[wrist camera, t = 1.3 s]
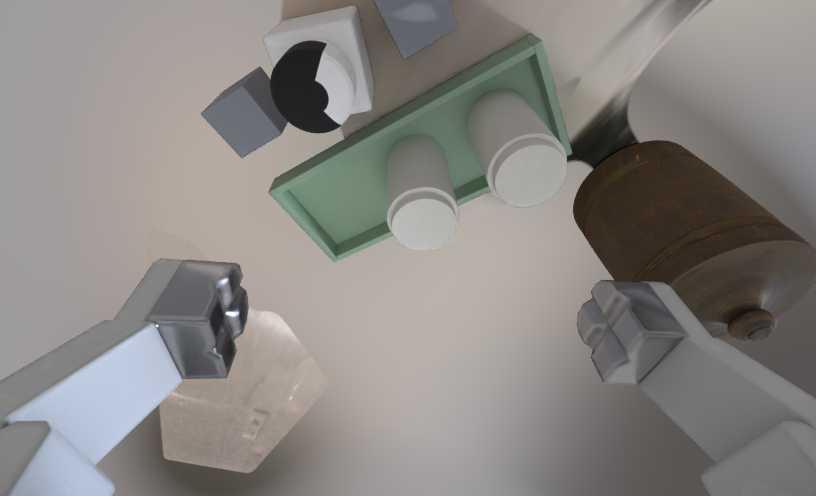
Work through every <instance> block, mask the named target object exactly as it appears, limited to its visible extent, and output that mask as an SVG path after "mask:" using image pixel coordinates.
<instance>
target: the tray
mask: <svg viewBox="0 0 816 496" xmlns="http://www.w3.org/2000/svg"><path fill="white" fill-rule="evenodd" d="M497 89H510V90H513V91H516V92H517V93H519V94H520V95H522V96H523V98H524V99H525V100H526V101H527V102H528V104H529V105H530V106H531V107H532V109H533V110H534V111H535V112H536V113H537V115H538V116H539V117H540V118H541V120H542V121H543V122H544V123H545V124H546V126H547V127H548V128H549V129H550V131H551V132H552V133H553V134H554V136H555V137H556V138H557V139H558V140H559V142H560V143H561V144H562V146H563V147H564V149H565V152H566V156H568V155H571V154H572V150H571V146H570V143H569V139H568V135H567V132H566V128H565V124H564V121H563V117H562V113H561V109H560V106H559V102H558V98H557V95H556V91H555V87H554V84H553V80H552V76H551V72H550V69H549V65H548V61H547V58H546V54H545V50H544V47H543V43H542V40H540V39H539V38H537V37H536V36H535V35H533V34H532V33H531V34H529V35H528V36H526V37H524V38H522V39H521V40H519V41H517V42H515V43H514V44H512V45H510V46H508V47H506V48H505V49H503V50H501V51H499V52H498V53H496V54H494V55H492V56H491V57H489V58H487V59H485V60H483V61H482V62H480V63H478V64H476V65H475V66H473V67H471V68H469V69H468V70H466V71H464V72H462V73H460V74H459V75H457V76H455V77H453V78H452V79H450V80H448V81H446V82H445V83H443V84H441V85H439V86H437V87H436V88H434V89H432V90H430V91H429V92H427V93H425V94H423V95H422V96H420V97H418V98H416V99H415V100H413V101H411V102H409V103H407V104H406V105H404V106H402V107H400V108H399V109H397V110H395V111H393V112H392V113H390V114H388V115H386V116H384V117H383V118H381V119H379V120H377V121H376V122H374V123H372V124H370V125H369V126H367V127H365V128H363V129H361V130H360V131H358V132H356V133H354V134H353V135H351V136H349V137H347V138H346V139H344V140H342V141H340V142H338V143H337V144H335V145H333V146H332V147H330V148H328V149H326V150H324V151H323V152H321V153H319V154H317V155H315V156H314V157H312V158H310V159H309V160H307V161H305V162H303V163H301V164H300V165H298V166H296V167H294V168H293V169H291V170H289V171H287V172H285V173H284V174H282V175H280V176H279V177H277V178H275V179H274V181H273V183H272V186H271V188H270V190H269V194H270V195H271V196H272V197H273V198H274V199H275V200H276V201H277V202H278V203H279V204H280V205H281V207H282V208H283V209H284V210H285V211H286V212H287V213H288V214H289V215H290V216H291V217H292V218H293V219H294V220H295V221H296V223H297V224H298V225H299V226H300V227H301V228H302V229H303V230H304V231H305V232H306V233H307V234H308V235H309V236H310V237H311V238H312V240H314V242H315V243H316V244H317V245H318V246H319V247H320V248H321V249H322V250H323V251H324V252H325V253H326V254H327V255H328V257H329V258H330V259H331V260H332V261H333V262H337V261H338V260H341V259H343V258H345V257H347V256H350V255H352V254H354V253H356V252H358V251H361V250H363V249H365V248H367V247H369V246H372V245H374V244H376V243H378V242H380V241H382V240H384V239H387V238H389V237H391V236H393V234H392V232H391V231H390V229H389V227H388V223H387V157H388V154H389V152H390V150H391V148H392V147H393V146H394V145H395V144H396V143H397V142H398V141H399V140H401V139H403V138H405V137H408V136H412V135H422V136H427V137H429V138H431V139H433V140H435V141H436V142H437V143H438V144H439V145H440V146H441V148H442V149H443V151H444V154H445V158H446V162H447V166H448V169H449V173H450V177H451V181H452V185H453V189H454V193H455V197H456V200H457V204H458V206H459V205H461V204H463V203H466V202H468V201H470V200H472V199H474V198H476V197H479V196H481V195H483V194H485V193H487V192H490V191H491V190H490V188H489V186H488V183H487V181H486V178H485V176H484V173H483V171H482V168H481V165H480V163H479V160H478V158H477V155H476V153H475V150H474V148H473V145H472V143H471V140H470V138H469V135H468V132H467V117H468V114H469V112H470V110H471V108H472V106H473V105H474V104H475V102H476V101H477V100H478V99H479V98H480V97H482V96H483V95H485V94H486V93H488V92H490V91H493V90H497Z"/></svg>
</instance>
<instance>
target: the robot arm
mask: <svg viewBox="0 0 816 496" xmlns="http://www.w3.org/2000/svg"><path fill="white" fill-rule="evenodd" d="M242 277H243V275H242V272H241V268H240V265H238V264H236V263H225V262H212V261H197V260H175V259H162V258H161V259H159V260H157V261H156V262H154V263H153V264H152V266H151V267H150V268H149V270H148V271H147V273H146V274H145V276H144V277H143V278H142V280H141V281H140V283H139V284H138V286H137V287H136V288H135V290H134V291H133V293H132V294H131V295H130V297H129V298H128V300H127V301H126V303H125V304H124V306H123V307H122V308H121V310H120V311H119V313H118V314H117V315H116V317H115V318H114V320H113V321H111V320H104V321H102V322H101V323H99V324H97V325H95V326H94V327H92V328H90V329H89V330H87V331H85V332H84V333H82V334H80V335H78V336H77V337H75V338H73V339H71V340H70V341H68V342H66V343H64V344H63V345H61V346H59V347H58V348H56V349H54V350H52V351H51V352H49V353H48V354H46V355H44V356H42V357H40V358H39V359H37V360H35V361H34V362H32V363H30V364H28V365H27V366H25V367H23V368H21V369H20V370H18V371H16V372H15V373H13V374H11V375H10V376H8V377H6V378H5V379H3V380H1V381H0V496H112V495H113V493H114V491H115V487H114V484H113V482H112V481H111V480H110V479H109V478H108V477H107V476H106V475H105V474H104V473H103V472H102V471H100V470H99V469H98V468H97V467H96V466H95V465H96V464H97V463H98V462H99V461H100V460H101V459H102V458H103V457H104V456H105V455H106V454H107V453H108V452H109V451H110V450H111V449H112V448H113V447H114V446H116V444H118V443H119V441H121V440H122V439H123V438H124V437H125V436H126V435H127V434H128V433H129V432H130V431H131V430H132V429H133V428H134V427H135V426H136V425H138V424H139V423H140V422H141V421H142V420H143V419H144V418H145V417H146V416H147V415H148V414H149V413H150V412H151V411H152V410H153V409H154V408H155V407H156V406H157V405H159V404H160V403H161V402H162V401H163V400H164V399H165V398H166V397H167V396H168V395H169V394H170V393H171V392H172V391H173V390H174V389H175V388H176V387H177V386H179V385H180V384H181V383H182V382H183V380H182V379H206V378H227V376H228V374H229V371H230V368H231V365H232V362H233V359H234V357H235V354H236V351H237V350H236V346H235V343H234V340H235V339H236V338H237V337H238V336H240V335H241V334H242V333H243V331H244V328H245V325H246V322H247V315H248V296H247V292H246V290H245V289H243V288H242V287H241V286H240V283H241V280H242ZM591 293H592V297H593V298H592V299H591V300H589V301H587V302H586V303H584V304H583V305H582V307H581V309H580V310H579V312H578V317H577V327H578V332H579V334H580V336H581V339H582V341H583V342H584V343H585V344H586V345H588V346H589V347H590V348H591V349H592V350H593V352H592V356H591V359H592V361H593V363H594V365H595V367H596V369H597V371H598V373H599V375H600V377H601V379H602V381H603V383H614V384H638V387H639V388H640V389H641V390H642V391H643V392H644V393H645V394H646V395H647V396H648V397H649V398H650V399H651V400H652V401H653V402H654V403H655V404H656V405H657V406H658V407H659V408H660V409H662V410H663V411H664V412H665V413H666V414H667V415H668V416H669V417H670V418H671V419H672V420H673V421H674V422H675V423H676V424H677V425H678V426H679V427H680V428H681V429H682V430H683V431H684V432H686V434H687V435H689V436H690V437H691V438H692V439H693V440H694V441H695V442H696V443H697V444H698V445H699V446H700V447H701V448H702V449H703V450H704V451H705V452H706V453H707V454H708V455H709V456H710V457H711V458H712V459H713V460H715V461H716V463H715V464H713V465H711V466H710V467H708V468H707V469H705V470H703V471H702V473H701V476H700V478H701V480H702V481H703V483H704V485H705V487H706V488H707V490H708V492H709V494H710V496H816V399H815V398H814V397H812V396H811V395H809V394H807V393H806V392H804V391H803V390H801V389H799V388H798V387H796V386H795V385H793V384H791V383H790V382H788V381H787V380H785V379H783V378H782V377H780V376H779V375H777V374H776V373H774V372H772V371H771V370H769V369H768V368H766V367H764V366H763V365H761V364H760V363H758V362H756V361H755V360H753V359H751V358H750V357H748V356H747V355H745V354H743V353H742V352H740V351H739V350H737V349H736V348H734V347H732V346H731V345H729V344H727V343H726V342H724V341H723V340H721V339H720V338H713V337H712V336H711V335H710V334H709V333H708V331H707V330H706V329H705V328H704V327H703V325H702V324H701V323H700V322H699V321H698V319H697V318H696V317H695V316H694V314H693V313H692V312H691V311H690V310H689V308H688V307H687V306H686V305H685V304H684V302H683V301H682V300H681V299H680V298H679V296H678V295H677V294H676V293H675V292H674V290H673V289H672V288H671V287H670V286H669V285H667V284H665V283H664V282H644V281H642V282H638V281H612V280H601V281H599V282H598V283H596V284H595V286H594V287H593V289H592V290H591Z"/></svg>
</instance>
